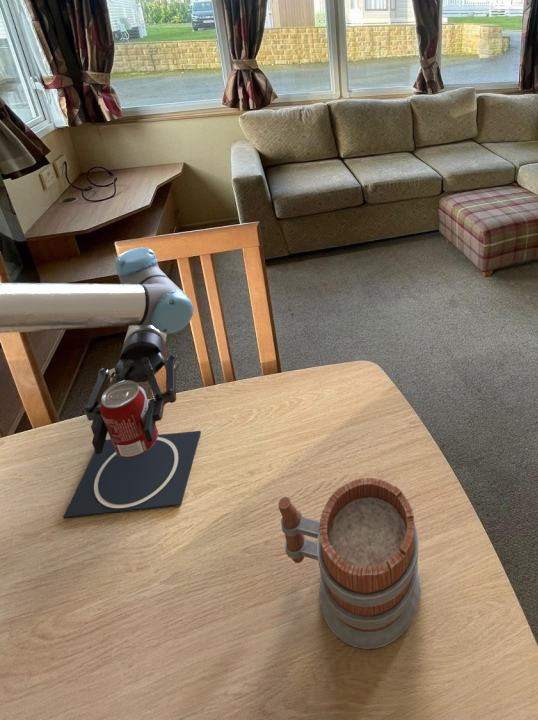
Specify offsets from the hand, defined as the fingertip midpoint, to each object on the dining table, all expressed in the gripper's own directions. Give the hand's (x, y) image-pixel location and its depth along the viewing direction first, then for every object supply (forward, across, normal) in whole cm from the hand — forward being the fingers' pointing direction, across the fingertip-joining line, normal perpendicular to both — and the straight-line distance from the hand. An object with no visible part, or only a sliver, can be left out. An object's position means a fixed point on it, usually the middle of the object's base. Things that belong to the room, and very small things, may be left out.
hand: (122, 441), depth 77 cm
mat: (-2, 0, -10) cm, 11 cm away
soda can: (-5, 0, -7) cm, 8 cm away
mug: (+24, -31, -11) cm, 41 cm away
